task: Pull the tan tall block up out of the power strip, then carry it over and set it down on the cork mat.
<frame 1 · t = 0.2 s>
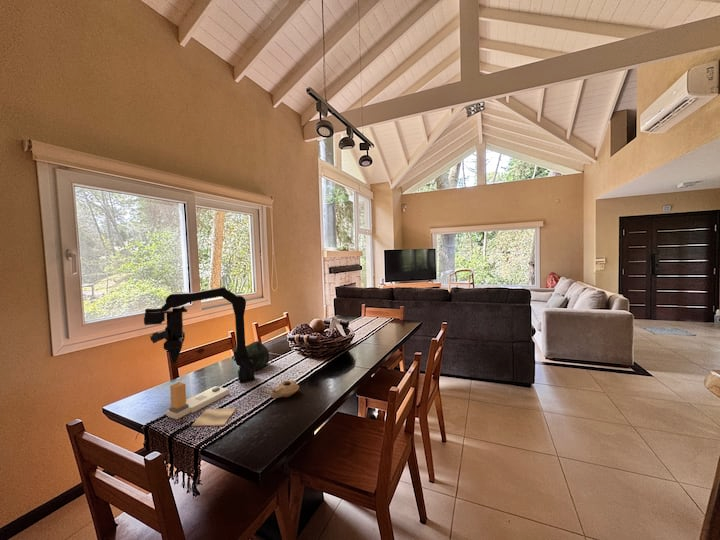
hand: (175, 359, 125), 15 cm above the table, tool pointing down, fingers open, 9 cm apart
pottery oil lamp: (283, 396, 121), on the table
tan tall block: (179, 414, 109), resting in power strip
squash: (254, 368, 153), on the table
power strip: (197, 404, 115), on the table
cork mat: (214, 417, 106), on the table
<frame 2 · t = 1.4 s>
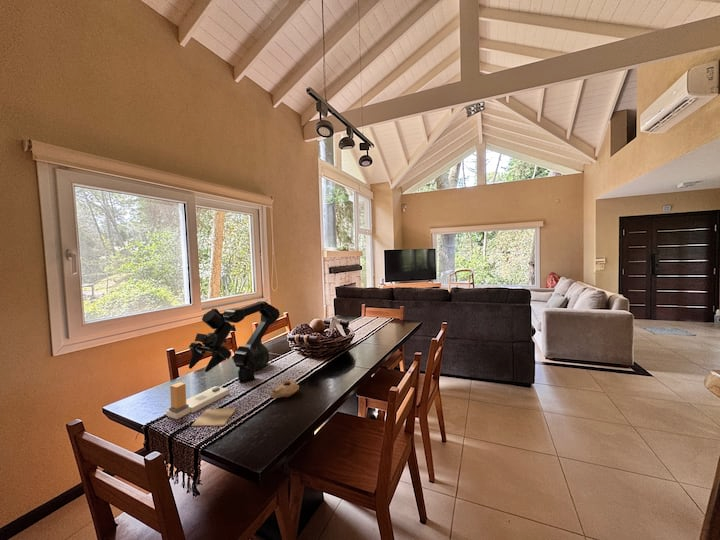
hand: (197, 370, 115), 13 cm above the table, tool tilted 45°, fingers open, 9 cm apart
nothing on the table moved.
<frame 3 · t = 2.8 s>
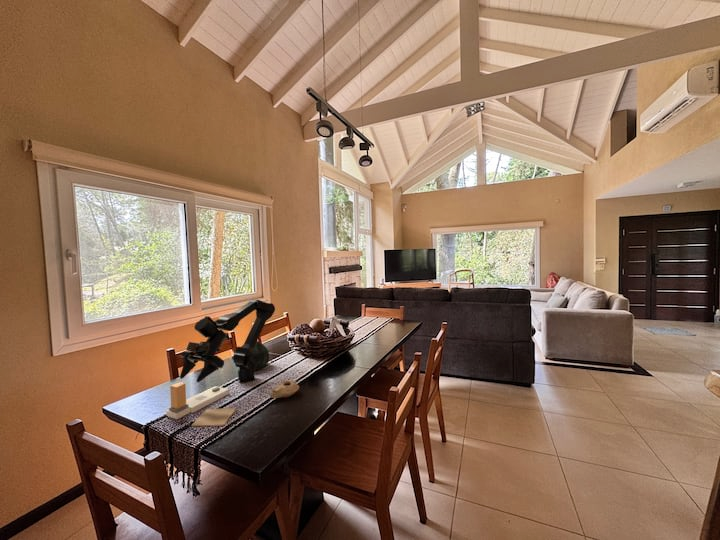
hand: (188, 380, 112), 11 cm above the table, tool tilted 45°, fingers open, 9 cm apart
nothing on the table moved.
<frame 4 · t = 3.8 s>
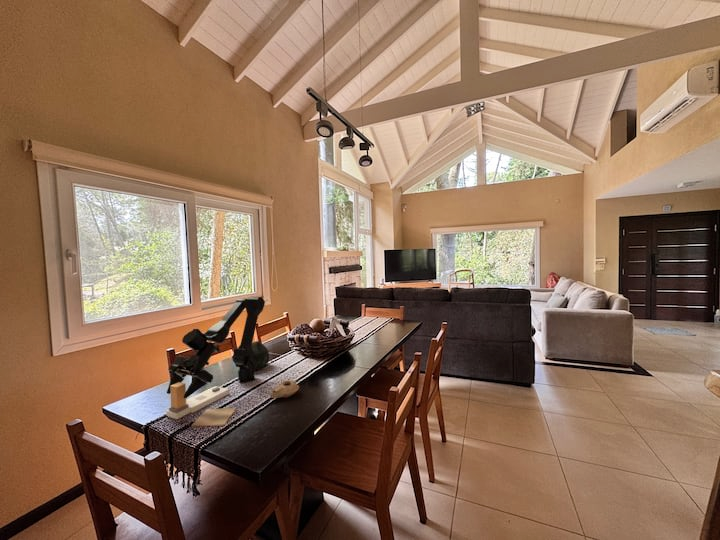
hand: (176, 395, 107), 7 cm above the table, tool tilted 45°, fingers open, 9 cm apart
nothing on the table moved.
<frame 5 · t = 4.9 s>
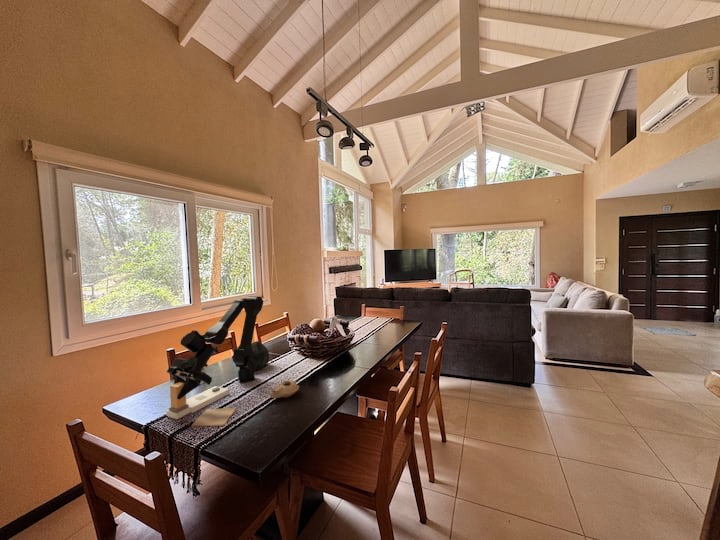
hand: (174, 398, 107), 7 cm above the table, tool tilted 45°, fingers closed on tan tall block, 3 cm apart
tan tall block: (179, 414, 109), resting in power strip, touching gripper
everything else where it was.
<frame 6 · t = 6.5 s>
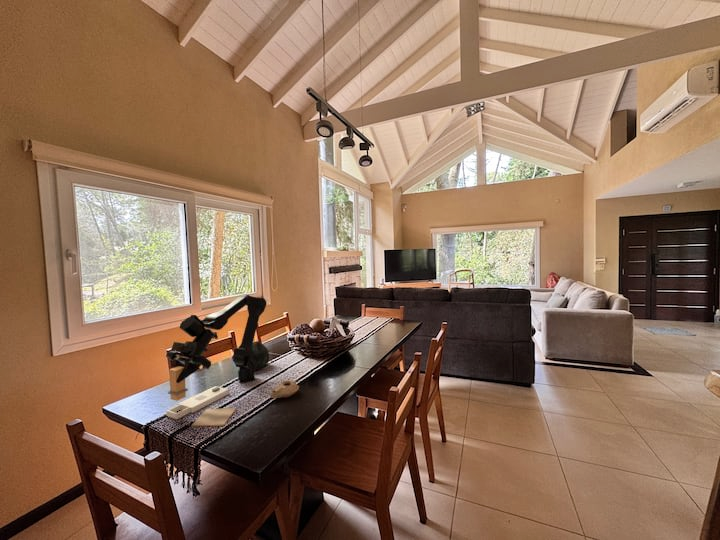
hand: (173, 381, 107), 13 cm above the table, tool tilted 45°, fingers closed on tan tall block, 3 cm apart
tan tall block: (178, 397, 108), point 6 cm above the table, touching gripper
everything else where it was.
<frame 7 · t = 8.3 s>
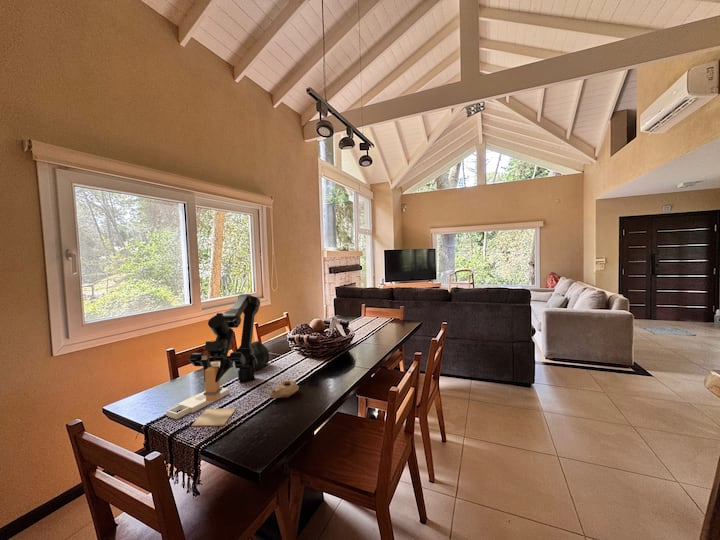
hand: (210, 382, 104), 13 cm above the table, tool tilted 45°, fingers closed on tan tall block, 3 cm apart
tan tall block: (213, 398, 105), point 7 cm above the table, touching gripper
everything else where it was.
when the fingers open (8 cm above the table, at t = 9.9 s): tan tall block stays where it is, resting on cork mat.
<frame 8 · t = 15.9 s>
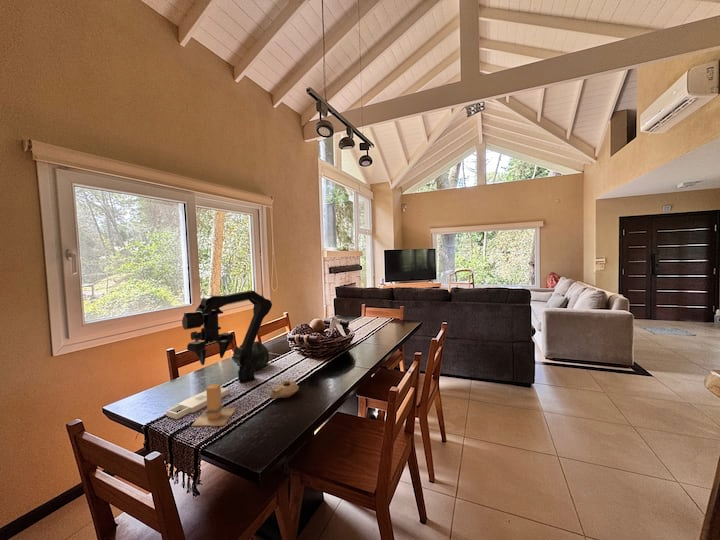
hand: (212, 361, 127), 13 cm above the table, tool pointing down, fingers open, 9 cm apart
tan tall block: (214, 416, 106), resting on cork mat
everything else where it was.
at the end: tan tall block inside the target area on the cork mat (0.0 cm from its centre), point 0.4 cm above the cork mat's base; tan tall block tilted 0°; the gripper is holding nothing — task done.
